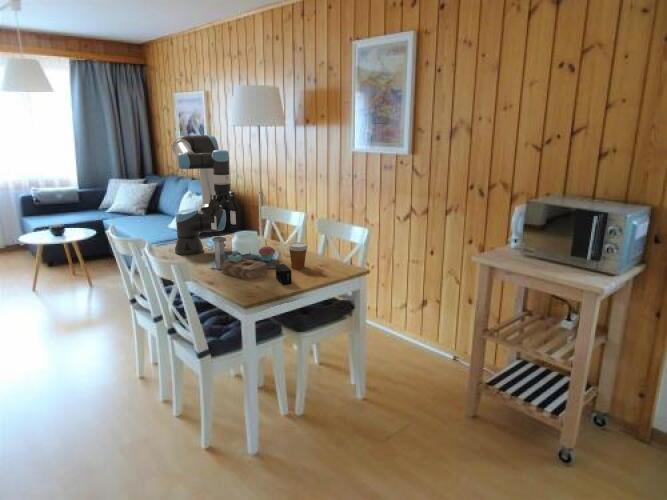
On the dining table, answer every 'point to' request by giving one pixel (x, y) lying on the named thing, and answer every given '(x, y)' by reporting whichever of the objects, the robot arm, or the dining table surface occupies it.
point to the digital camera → (283, 274)
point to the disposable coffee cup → (297, 254)
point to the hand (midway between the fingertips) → (223, 226)
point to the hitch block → (244, 268)
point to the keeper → (235, 258)
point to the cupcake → (266, 252)
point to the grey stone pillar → (219, 251)
